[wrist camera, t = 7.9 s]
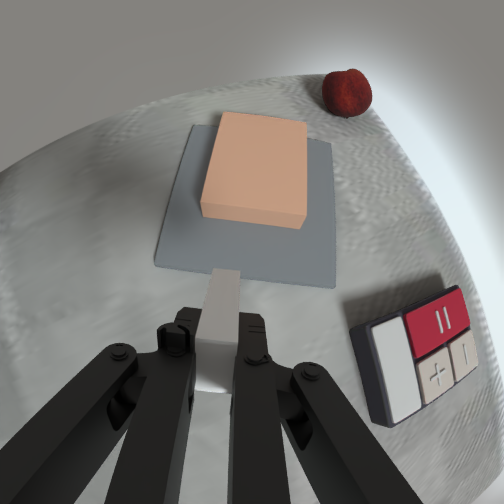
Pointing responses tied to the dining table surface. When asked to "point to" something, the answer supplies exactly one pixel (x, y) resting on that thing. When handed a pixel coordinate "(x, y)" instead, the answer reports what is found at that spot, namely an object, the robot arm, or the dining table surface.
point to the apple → (346, 93)
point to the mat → (250, 226)
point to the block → (258, 171)
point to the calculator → (414, 355)
